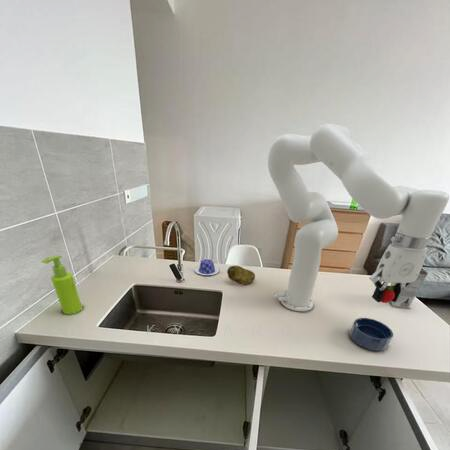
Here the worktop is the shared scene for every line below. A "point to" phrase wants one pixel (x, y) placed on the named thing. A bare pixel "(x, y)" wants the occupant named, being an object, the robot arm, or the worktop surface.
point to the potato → (240, 275)
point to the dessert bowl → (371, 334)
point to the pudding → (206, 268)
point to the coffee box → (409, 291)
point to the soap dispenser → (64, 286)
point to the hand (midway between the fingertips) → (383, 299)
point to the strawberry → (388, 294)
